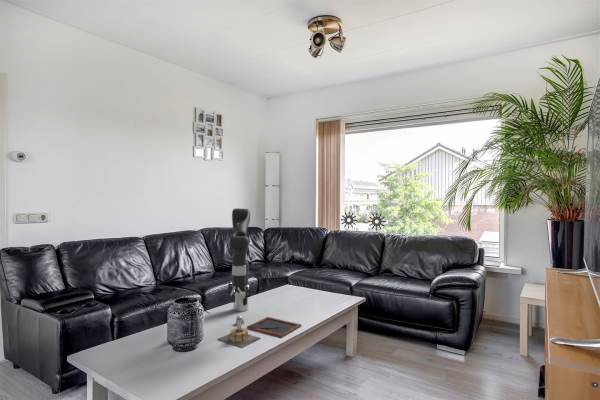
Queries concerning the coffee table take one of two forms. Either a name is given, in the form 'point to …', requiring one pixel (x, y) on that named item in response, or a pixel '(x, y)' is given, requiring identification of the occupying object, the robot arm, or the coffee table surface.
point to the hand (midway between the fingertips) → (239, 303)
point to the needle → (238, 323)
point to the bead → (241, 321)
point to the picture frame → (274, 327)
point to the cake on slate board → (239, 338)
